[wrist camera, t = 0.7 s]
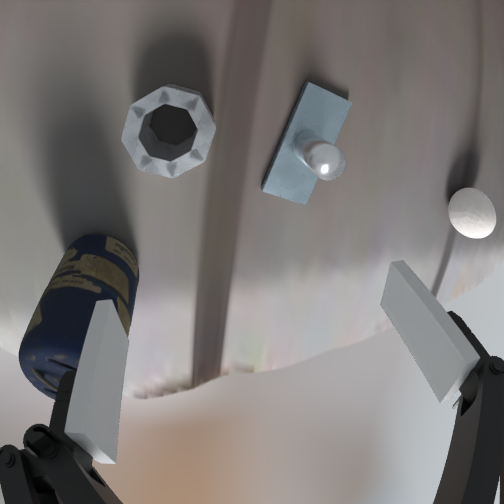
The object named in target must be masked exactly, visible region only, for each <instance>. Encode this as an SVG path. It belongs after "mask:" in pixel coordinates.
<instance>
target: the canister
mask: <svg viewBox="0 0 504 504" xmlns="http://www.w3.org/2000/svg"><path fill="white" fill-rule="evenodd" d="M138 282H139V268H138V264H137V262H136V259H135V257H134V256H133V254H132V253H131V251H130V250H129V249H128V248H127V247H126V246H125V245H124V244H123V243H122V242H120V241H118V240H116V239H114V238H112V237H109V236H105V235H98V234H94V235H87V236H84V237H82V238H79V239H78V240H76V241H75V242H74V243H72V244H71V246H70V247H69V248H68V250H67V251H66V253H65V254H64V256H63V258H62V260H61V262H60V263H59V265H58V267H57V269H56V271H55V273H54V275H53V276H52V278H51V280H50V282H49V284H48V286H47V288H46V289H45V291H44V293H43V295H42V297H41V299H40V301H39V303H38V305H37V307H36V310H35V312H34V314H33V316H32V318H31V321H30V323H29V325H28V328H27V330H26V332H25V335H24V337H23V340H22V342H21V345H20V349H19V362H20V366H21V369H22V371H23V373H24V375H25V376H26V378H27V379H28V380H29V381H30V382H31V383H32V384H33V386H34V387H36V388H37V389H38V390H39V391H41V392H42V393H44V394H45V395H47V396H48V397H50V398H52V399H54V400H55V398H56V394H57V390H58V386H59V382H60V379H61V378H62V377H63V375H64V374H65V372H66V371H77V369H78V365H79V361H80V357H81V353H82V349H83V346H84V342H85V338H86V335H87V331H88V328H89V325H90V321H91V318H92V315H93V311H94V308H95V305H96V302H97V301H101V300H111V299H112V301H113V304H114V306H115V309H116V311H117V314H118V316H119V319H120V321H121V323H122V326H123V328H124V330H125V333H126V335H127V337H128V335H129V329H130V326H131V321H132V315H133V310H134V304H135V297H136V291H137V286H138Z"/></svg>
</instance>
